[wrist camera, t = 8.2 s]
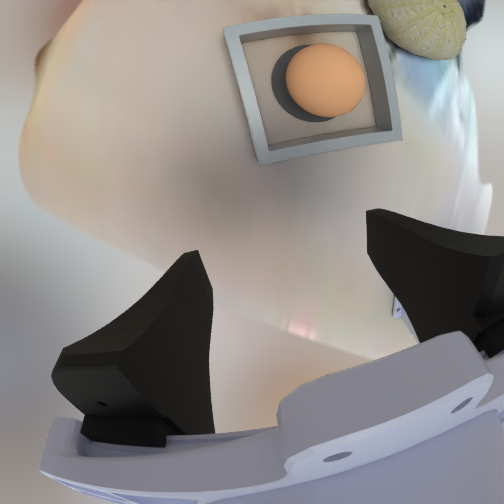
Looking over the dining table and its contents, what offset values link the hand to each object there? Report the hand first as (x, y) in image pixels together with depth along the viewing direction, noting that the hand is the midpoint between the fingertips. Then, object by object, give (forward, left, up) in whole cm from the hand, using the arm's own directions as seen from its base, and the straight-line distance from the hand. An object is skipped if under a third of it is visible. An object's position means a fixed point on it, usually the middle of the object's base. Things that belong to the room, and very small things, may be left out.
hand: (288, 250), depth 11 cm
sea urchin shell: (+13, -15, -11) cm, 23 cm away
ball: (+7, -5, -10) cm, 13 cm away
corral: (+7, -5, -10) cm, 13 cm away
